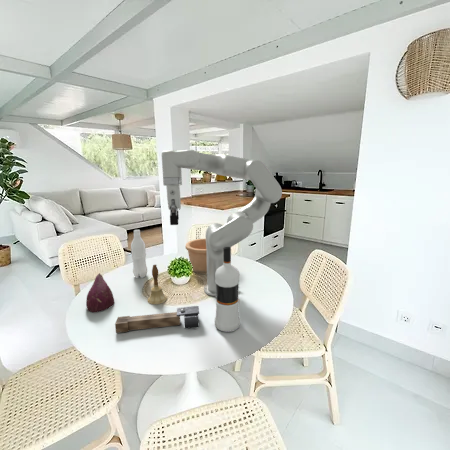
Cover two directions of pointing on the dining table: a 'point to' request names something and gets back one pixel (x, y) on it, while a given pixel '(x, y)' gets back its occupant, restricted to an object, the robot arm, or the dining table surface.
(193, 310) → the hinge block
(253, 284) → the dining table surface
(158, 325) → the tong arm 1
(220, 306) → the vodka
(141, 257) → the water bottle
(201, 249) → the pottery
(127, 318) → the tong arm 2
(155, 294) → the hand bell
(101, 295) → the vegetable
